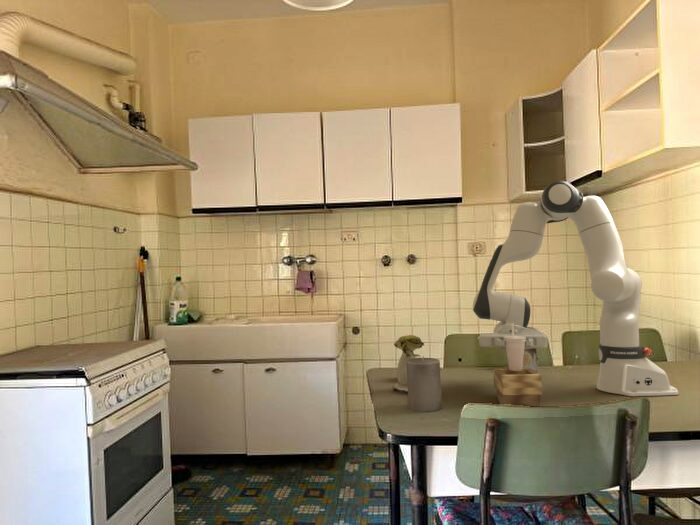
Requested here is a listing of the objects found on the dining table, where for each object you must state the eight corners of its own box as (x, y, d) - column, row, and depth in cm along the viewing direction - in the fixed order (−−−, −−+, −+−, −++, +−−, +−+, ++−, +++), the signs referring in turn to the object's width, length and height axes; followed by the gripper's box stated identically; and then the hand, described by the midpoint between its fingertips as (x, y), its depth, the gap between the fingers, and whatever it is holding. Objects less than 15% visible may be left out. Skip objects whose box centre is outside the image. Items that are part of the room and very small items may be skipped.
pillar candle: (423, 401, 157) (421, 352, 157) (449, 407, 149) (446, 355, 149) (401, 408, 150) (398, 356, 150) (426, 414, 143) (424, 360, 143)
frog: (412, 396, 163) (410, 338, 164) (385, 390, 174) (384, 335, 174) (438, 391, 170) (436, 335, 171) (411, 385, 181) (409, 332, 181)
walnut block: (533, 399, 158) (533, 386, 158) (540, 409, 147) (540, 394, 147) (496, 399, 160) (496, 386, 160) (500, 408, 149) (500, 394, 149)
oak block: (530, 385, 159) (529, 368, 159) (542, 394, 148) (541, 375, 148) (494, 386, 159) (493, 368, 159) (503, 395, 148) (502, 375, 148)
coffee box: (535, 368, 204) (534, 327, 204) (537, 371, 198) (536, 329, 198) (511, 368, 206) (510, 328, 206) (512, 371, 200) (511, 329, 200)
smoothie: (503, 367, 158) (502, 321, 158) (525, 367, 157) (524, 321, 157) (505, 371, 152) (504, 323, 152) (528, 372, 151) (527, 323, 151)
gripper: (476, 327, 169) (479, 333, 156) (542, 327, 165) (550, 333, 152) (477, 347, 169) (479, 354, 156) (542, 347, 165) (551, 354, 152)
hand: (515, 343), depth 154 cm, fingers closed on smoothie, 6 cm apart
